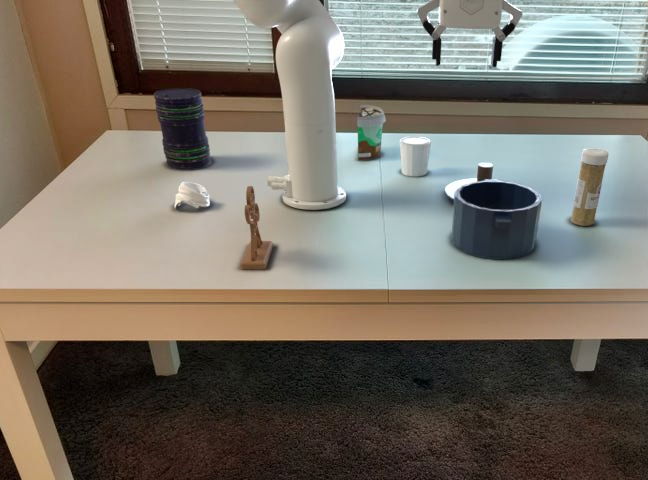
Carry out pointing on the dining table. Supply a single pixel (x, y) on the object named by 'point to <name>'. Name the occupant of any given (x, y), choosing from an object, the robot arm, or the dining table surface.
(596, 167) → the sprinkles bottle
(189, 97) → the storage jar
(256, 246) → the brown upright openwork piece
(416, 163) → the white cup
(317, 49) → the robot arm
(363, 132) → the food container
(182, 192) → the whipped cream
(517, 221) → the pot
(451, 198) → the pot lid
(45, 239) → the dining table surface
